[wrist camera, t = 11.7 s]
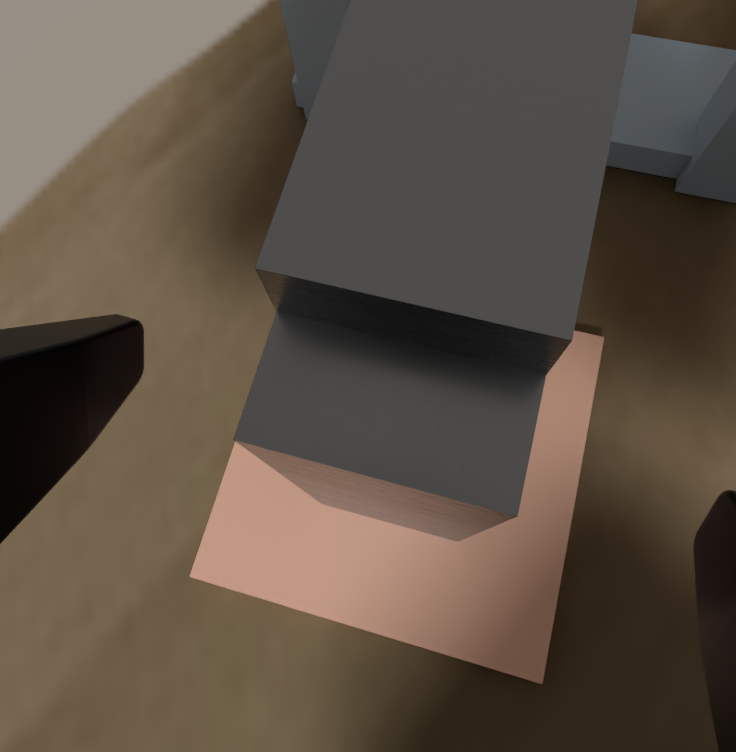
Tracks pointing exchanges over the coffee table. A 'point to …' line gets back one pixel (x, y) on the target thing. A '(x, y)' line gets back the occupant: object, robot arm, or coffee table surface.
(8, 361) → the robot arm
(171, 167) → the coffee table surface
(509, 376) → the gray block
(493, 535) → the terracotta mat
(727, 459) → the coffee table surface
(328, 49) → the rail stand
